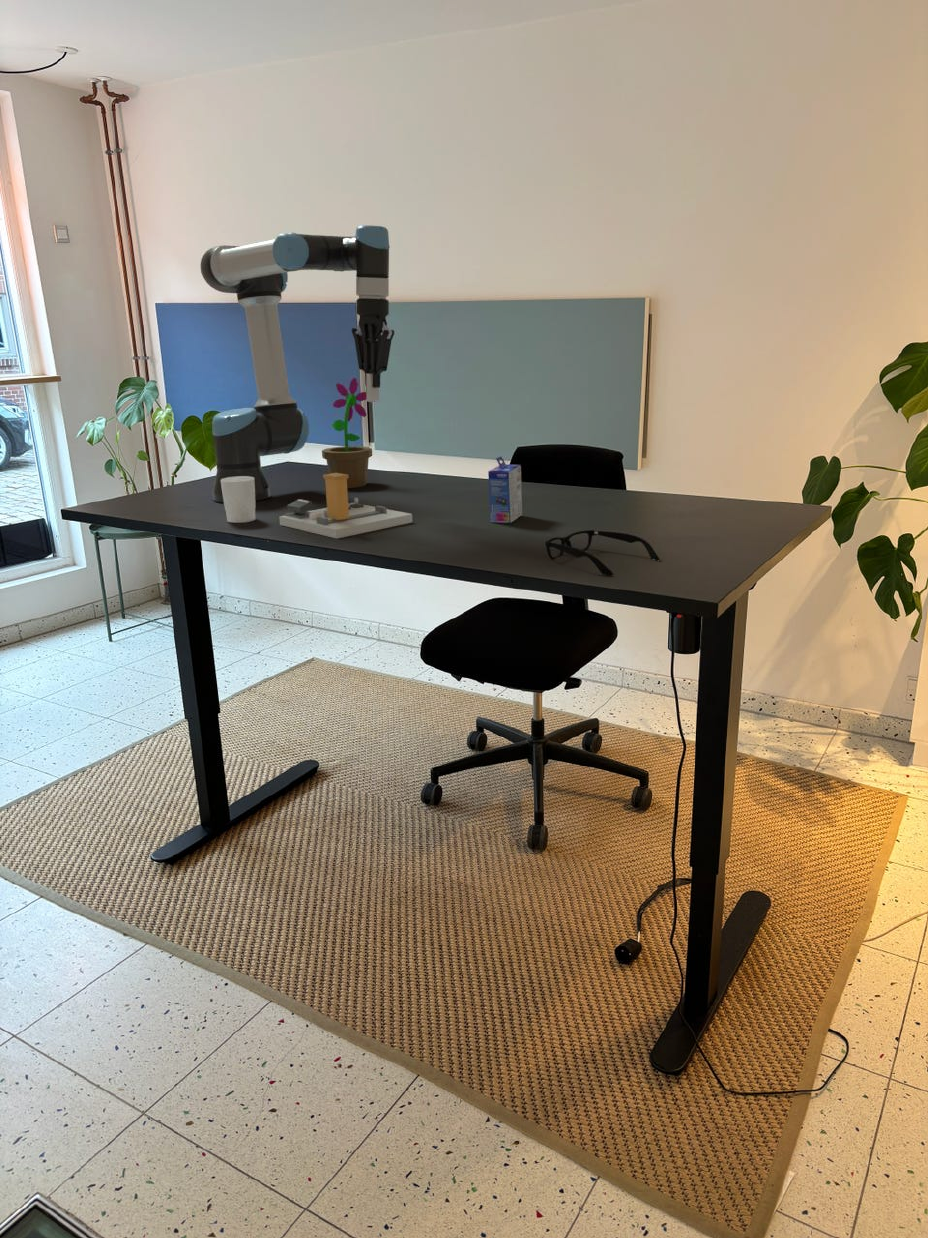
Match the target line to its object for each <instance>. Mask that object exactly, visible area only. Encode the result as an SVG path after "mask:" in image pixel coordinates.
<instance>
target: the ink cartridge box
mask: <svg viewBox="0 0 928 1238" xmlns="http://www.w3.org/2000/svg"><path fill="white" fill-rule="evenodd" d="M495 458H496V459H495V460H496V461H497V464H498V465H497V466H495V467H494V468H493V469H489V470H488V473H487V474H488V501H489V515H490V517H489V518H490V523H499V524H512V523H513V522H514V521H516V520H518V518H519V517H521V516H523V501H522V500H523V498H522V497H523V496H522V467H521V466H522V465H521V464H507V463H506V462H505V460H504V459H503V456H498V457H495ZM501 461H502V462H501Z"/></svg>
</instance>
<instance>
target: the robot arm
mask: <svg viewBox="0 0 928 1238" xmlns="http://www.w3.org/2000/svg"><path fill="white" fill-rule="evenodd" d="M390 247H391V246H390V237H389V230H388V228H387V227H385V226H381V225H371V224H370V225H364V224H363V225H358V226H357V227H356V229H355V235H354V236H341V235H339V236H338V235H337V236H336V235H320V234H316V235H315V234H303V233H302V234H301V233H295V232H290V233H289V232H288V233H280V234H278V235H277V236H276V238H274V239H269V240H265V241H261V242H255V243H250V244H245V245H242V246H241V245H227V244H226V245H217V246H213V247H211V248H208V249H207V250H206V251H205V252H204V254H203V255H202V257H201V259H200V273H201V275H202V278H203V280H204V282H205V283H206V284H207V285H208V286H209V287H211V288H212V289H214V290H215V291H217V292H221V293H225V294H236V298H237V303H238V304H240V305H241V306H242V307H243V308H244V312H245V318H246V326H247V333H248V339H249V345H250V353H251V357H252V358H251V359H252V365H253V371H254V372H253V373H254V376H255V377H254V378H255V386H256V390H257V391H256V392H257V393H256V394H257V398H258V399H257V401H256V403H255V404H254V406H253V408H252V407H243V408H242V407H241V408H238V409H237V408H235V409H229V410H225V411H221V412H219V413H216V414H215V415H214V416H213V417H212V421H211V422H212V427H211V428H212V432H211V433H212V437H213V445H214V446H213V448H214V455H215V465H216V474H215V480H214V484H213V488H212V500H213V501H215V502H217V503H224V500H223V494H222V487H221V479H223V478H228V477H237V476H249V477H254V480H255V502H256V501H257V502H258V501H262V500H263V501H264V500H266V499H268V498H270V497H271V491H270V490H271V489H270V487H269V484H268V482H267V479H266V477H265V474H264V472H263V470H262V465H261V457H265V456H274V455H280V454H281V455H282V454H290V453H293V452H297V451H300V450H301V449H303V447H304V446H305V444H306V443H307V441H308V438H309V434H310V433H309V432H310V426H309V420H308V417H307V415H306V413H305V412H304V411H303V410H302V409H300V408H298V404H297V401H296V400H295V399H294V398H292V396H291V393H290V388H289V381H288V374H287V373H288V372H287V366H286V359H285V353H284V346H283V345H284V344H283V338H282V331H281V325H280V317H279V311H278V310H279V309H278V304H279V303H280V302H281V300H282V299H283V298H282V293H284V292H285V290H286V289H287V286H288V284H287V283H288V282H289V281H288V277H289V276H288V273H289V272H297V271H312V270H314V271H317V270H318V271H334V272H349V271H350V272H351V271H356V272H355V274H356V275H355V277H356V278H355V281H356V283H355V284H356V285H355V291H356V292H355V295H356V296H358V298H357V299H356V303H355V304H356V307H355V309H356V315H358V316H359V319H358V325H357V326H356V327H352V328H351V333H352V336H353V338H354V346H355V351H356V352H355V353H356V358H357V364H358V369H359V370H360V371H363V372H364V374H365V375H364V377H365V378H364V379H365V380H364V381H365V382H364V383H365V387H366V390H365V392H367V400H366V402H368V403H376V402H380V388H381V374H382V373H383V372H386V371H387V370H388V363H389V358H390V351H391V345H392V340H393V337H394V335H395V330H394V329H390V328H389V327H388V322H387V316H389V314H390V313H389V312H390V311H389V308H390V303H389V302H390V301H389V299H387V297H389V295H390V294H389V292H390V291H389V290H390V289H389V287H390V286H389V285H390V284H389V283H390V282H389V280H390V279H389V278H390V275H389V274H390V273H389V271H390Z"/></svg>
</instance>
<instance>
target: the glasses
mask: <svg viewBox="0 0 928 1238" xmlns="http://www.w3.org/2000/svg"><path fill="white" fill-rule="evenodd" d="M581 534H587V536H588V539H587V545H586V547H584V548H583V549H579V548H576V547H573V545H572V543H571V540H570V539H571V538H572V537H573V536H575V535H576V536H577V535H581ZM593 536H601V537H606V538H610V539H614V540H619V541H623V542H626V543H630V544H633V543H637V542H640V543H641V544H642V545H643V546H644V548H645V549H646V552H647V553H648V556H649V557H650V559H655V560H660V557H659V555H658V554H657V553H656V551H655V550H654V548H653V547H652V545H651V544H650V543H649V542H648V541H646V540H645V539H644V538H642V537H640V536H637V535H633V534H629V533H624V532H617V531H616V532H615V531H605V530H604V531H603V530H596V529H595V530H594V529H591V530H590V529H589V530H580V531H576V532H575V531H574V532H573V533H570V534H569V535H567V536H564V537H558V536H557V537H552V538H550V539H548V540H546V541H545V547H546V552H547V555H548V557H549V558H550V559H551V560H554V559H556V558H560V557H562V556H563V554H564V553H566V554H568V555H570V556H573V557H575V558H577V559H578V558H583V557H586V558H588V559H590V560H591V562H592V563H593V564H594V566H596V568H597V569H598V570H599V572H600V573H601V574H602V575H603V574H606V575H605V576H608V575H613V576H614V573H613V572H612V571H611V569H609V567H607V565H605V564H604V563H603V562H602V561H601V560H600V559H599V558H597V557H596V556H594V555H593V554H590V553H589V552H586V551H587V550H588V549H589V548H590V546H591V544H592V541H593ZM555 540H560V542H561V543H560V544H559V543H555V542H553V541H555ZM551 548H554V549H556V550H558V551H559V554H558V555H556V556H552V553H551Z"/></svg>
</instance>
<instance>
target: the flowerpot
mask: <svg viewBox="0 0 928 1238" xmlns="http://www.w3.org/2000/svg"><path fill="white" fill-rule="evenodd" d="M335 386H336V390H337V392H338V393H339V394H340V395H341V396H343V397H345V399H344V398H339V399H336V400H335V401H334V402H333V403H332V406H333V408H337V409H340V408H343V407H345V409H344V410H345V411H344V418H343V419H344V420H341V419H337V420H334V422H332V426H331V427H332V428H333V429H334V430H335V431H337V432H341V431H343V432H344V433H343V434H344V435H343V436H344V446H334V447H327V448H323V449H322V450H321V457H322V459H324V460H326V465H327V470H328V474H331V473H341V474H347V475H348V477H349V478H347V489H351V488H352V489H353V488H354V489H355V488H361V487H365V486H366V484H368V475H369V474H368V473H369V472H368V471H369V459H370V458H371V457H372V456H373V448H371V447H368V446H358V445H357V446H353V445H352V446H349V442H356V441H359V440H360V439H361V438H360V436H359V435H357V434H353V433H349V432H348V425H349V424H348V422H350V421H351V419H352V418H353V416H354V411H355V412H356V413H357V414H358V415H359V416H361V417H363V418H365V417H366V416H367V412H366V409H365V408H364V407H363V406H362V404H360V403H357V401H359V402H363V401H367V392H366V391H362V392H358V393H357V391H358V388H359V387H358V386H359V382H358V380H357V378H356V377H353V378H352V379H351V380H350V382H349V386H348V388H346V385H344V384H342V383H340V382H337V383H336V384H335ZM348 390H349V391H348ZM356 393H357V394H356ZM355 394H356V395H355ZM353 407H354V409H353Z"/></svg>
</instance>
